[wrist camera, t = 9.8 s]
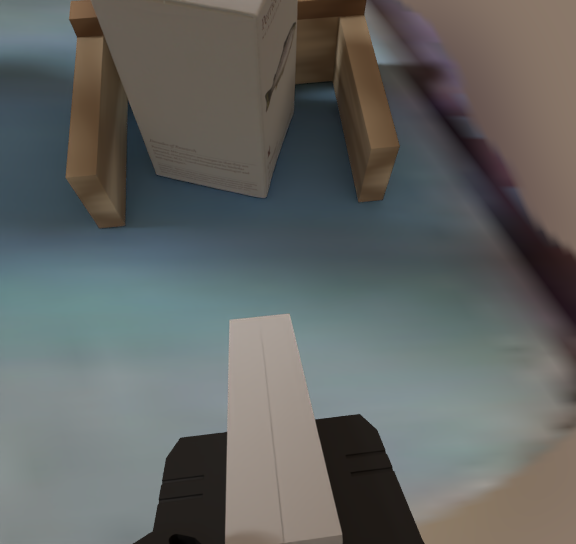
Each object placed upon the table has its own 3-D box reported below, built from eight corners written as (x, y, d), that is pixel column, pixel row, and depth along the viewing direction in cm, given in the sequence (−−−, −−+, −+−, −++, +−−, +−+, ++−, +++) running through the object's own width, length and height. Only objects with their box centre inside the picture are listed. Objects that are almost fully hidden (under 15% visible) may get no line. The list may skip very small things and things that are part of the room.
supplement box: (268, 203, 30) (257, 18, 19) (153, 176, 31) (76, -16, 20) (298, 112, 33) (305, -94, 22) (193, 90, 34) (146, -120, 23)
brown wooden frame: (99, 228, 29) (55, 162, 24) (106, 84, 34) (70, 1, 29) (382, 199, 30) (404, 130, 25) (350, 63, 35) (362, -21, 30)
